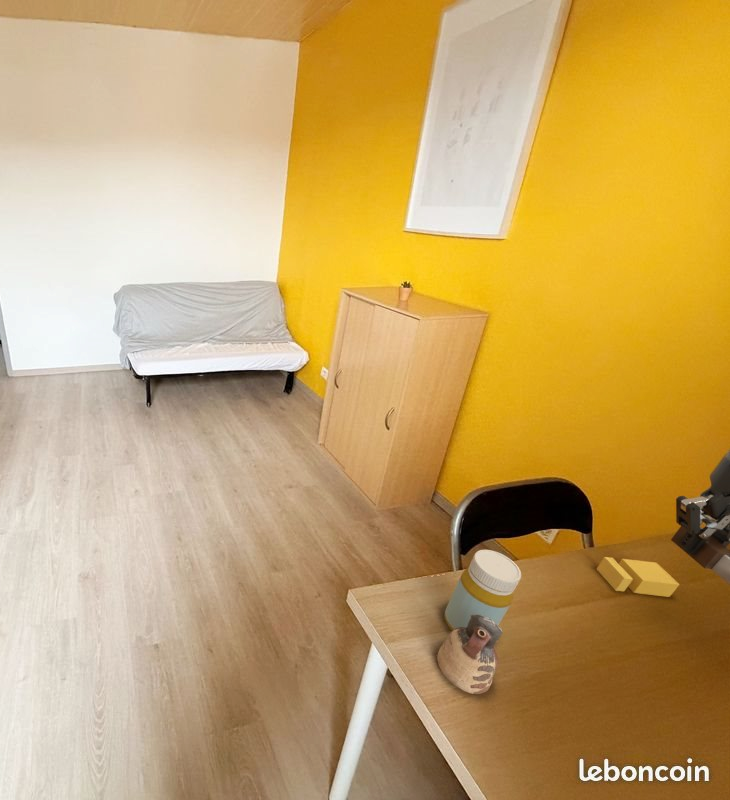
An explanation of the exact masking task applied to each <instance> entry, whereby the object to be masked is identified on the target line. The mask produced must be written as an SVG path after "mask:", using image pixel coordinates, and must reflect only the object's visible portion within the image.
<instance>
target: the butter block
mask: <svg viewBox="0 0 730 800" xmlns="http://www.w3.org/2000/svg"><path fill="white" fill-rule="evenodd" d="M618 564H619V565H620V566H621V567H622V568H623V569H624V570H625V571H626V572H627V573H628V574H629V575H630V576H631V577H632V578H633V580H632V581H631V583H630V584H629V585H628V587H627V588H629V590H630V591H631V592H632V593H634V594H641V595H649V596H650V595H651V596H659V597H665V598H666V597H667V598H670V597H671V596H672V595H673V594H674V592H675V591H676V590H677V588H678V587H679V586H680V583H679V582H678V581H677V580H676V579H674V577H673V576H671V575H670V573H668V572H667V571H666V570H665V569H664V568H663V567H662V566H661V565H660V564H659V563H658V562H654V561H646V560H638V559H637V560H636V559H628V558H621V559H620V561H619V562H618Z"/></svg>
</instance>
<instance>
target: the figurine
mask: <svg viewBox="0 0 730 800" xmlns="http://www.w3.org/2000/svg"><path fill="white" fill-rule="evenodd" d="M503 634H504V633H503V630H502V628H501V627H499V625H498V626H497V625H496V624H495V623H494V622H493V621H492V620H491V619H489V618H487V617H484V616H481V615H475V614H472V615H471V619H470V620H469V622H468V626H467V628H466V627H458V628H455V629H454V630H453V631H452V630H451V632H450V633H449V634H448V635H447V636H446V638H445V640H444V642H443V643H442V644H441V645H440V647H439V649H438V652H437V655H436V660H437V664H438V668H439V669H440V671H441V672H442V674H443V675H444V677H445V678H446V679H447V681H449V682H450V683H451V684H452V685H454V686H455V687H457V688H458V689H460V690H461V691H463V692H465V693H469V694H473V695H481V694H484V693H486V692H487V691H488V690H489V689H490V687H491V686H492V683H493V678H494V675H495V673H496V671H497V668H498V665H499V659H498V653H497V652H496V649H495V645H496V644H497V643H499V640H500V639H501V637H502V635H503Z"/></svg>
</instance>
